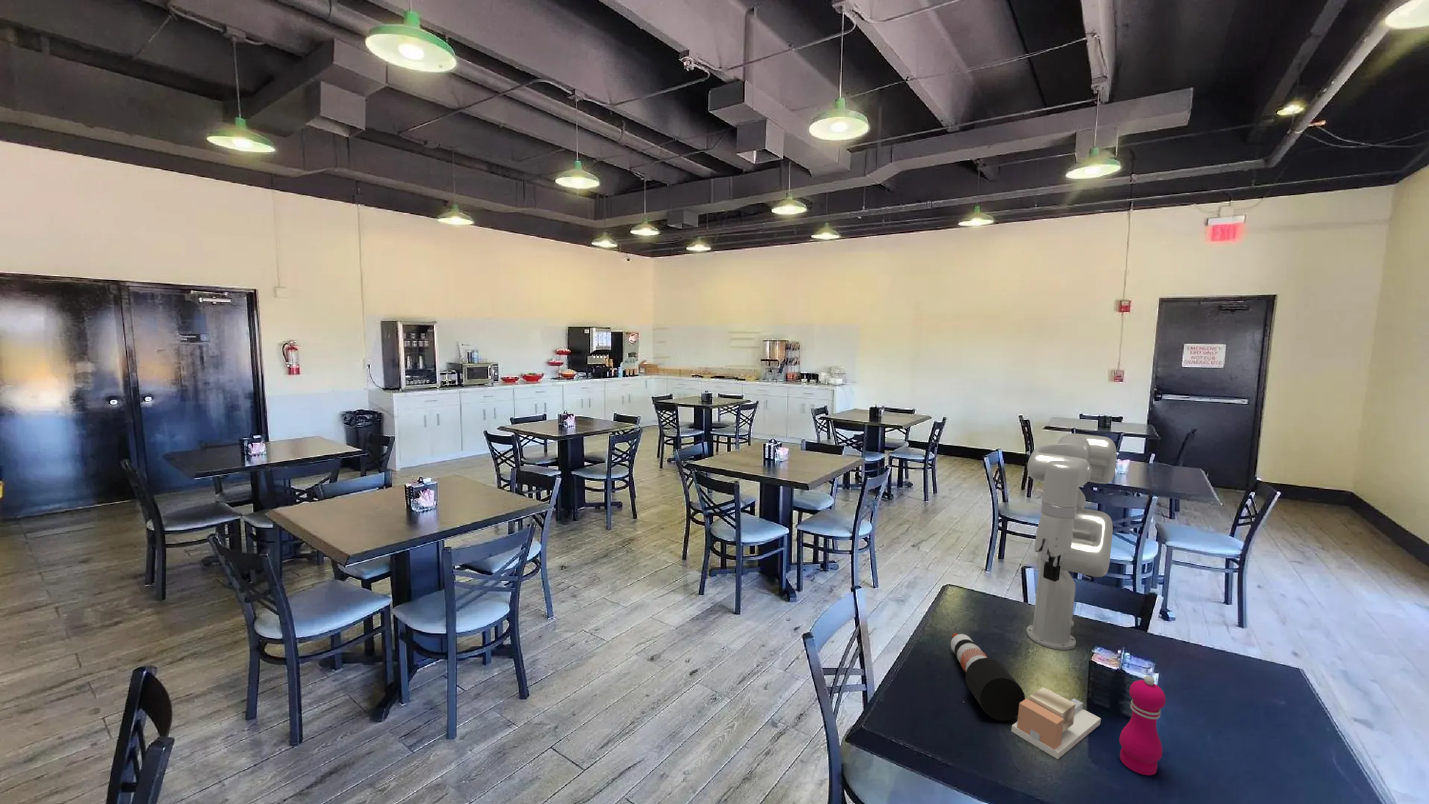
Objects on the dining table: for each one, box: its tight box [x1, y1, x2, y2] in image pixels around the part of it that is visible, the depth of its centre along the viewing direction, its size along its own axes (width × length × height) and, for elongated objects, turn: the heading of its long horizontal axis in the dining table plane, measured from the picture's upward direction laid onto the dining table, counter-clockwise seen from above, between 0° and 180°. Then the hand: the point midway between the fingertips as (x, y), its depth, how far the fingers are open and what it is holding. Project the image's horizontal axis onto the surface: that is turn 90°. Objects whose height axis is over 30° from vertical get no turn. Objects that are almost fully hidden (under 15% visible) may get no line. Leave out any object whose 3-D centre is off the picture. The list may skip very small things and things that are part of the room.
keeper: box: [1028, 686, 1076, 733], centre depth 129 cm, size 6×7×5 cm
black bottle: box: [950, 632, 1026, 722], centre depth 149 cm, size 10×34×10 cm, turn 173°
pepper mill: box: [1118, 675, 1167, 776], centre depth 120 cm, size 7×7×20 cm
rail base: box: [1011, 698, 1102, 760], centre depth 131 cm, size 20×10×8 cm, turn 124°
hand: (1050, 578), depth 148 cm, fingers closed
